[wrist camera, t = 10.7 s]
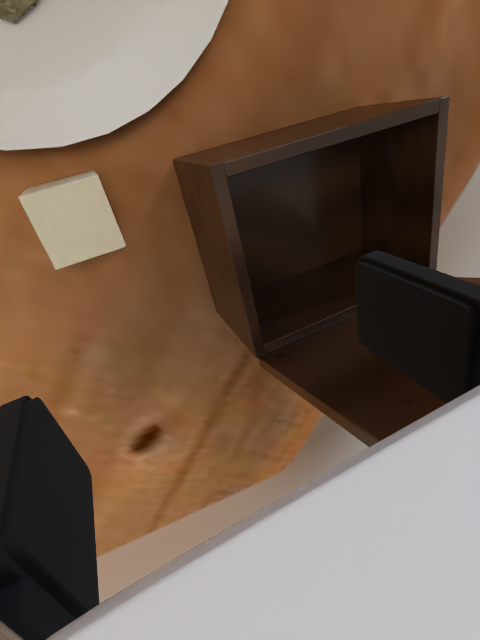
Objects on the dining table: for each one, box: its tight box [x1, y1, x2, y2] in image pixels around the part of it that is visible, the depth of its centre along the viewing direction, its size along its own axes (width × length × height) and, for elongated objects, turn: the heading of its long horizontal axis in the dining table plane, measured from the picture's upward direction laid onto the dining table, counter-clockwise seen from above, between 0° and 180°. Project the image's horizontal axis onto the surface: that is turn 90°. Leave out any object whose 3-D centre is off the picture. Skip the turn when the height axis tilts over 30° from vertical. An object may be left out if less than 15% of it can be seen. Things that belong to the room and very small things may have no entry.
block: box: [18, 170, 126, 270], centre depth 24 cm, size 4×4×4 cm
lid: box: [258, 277, 480, 447], centre depth 21 cm, size 14×17×5 cm
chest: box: [173, 96, 449, 358], centre depth 28 cm, size 13×17×9 cm
